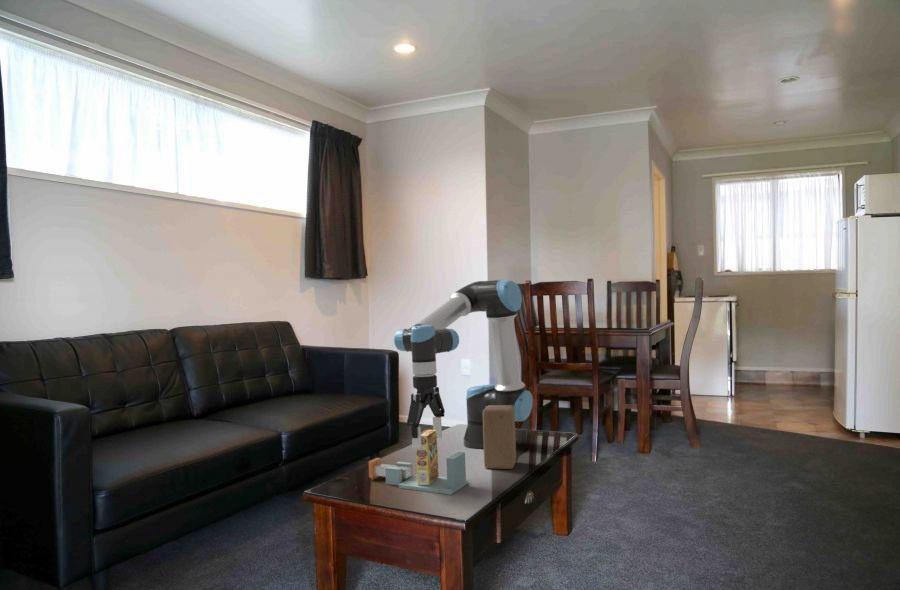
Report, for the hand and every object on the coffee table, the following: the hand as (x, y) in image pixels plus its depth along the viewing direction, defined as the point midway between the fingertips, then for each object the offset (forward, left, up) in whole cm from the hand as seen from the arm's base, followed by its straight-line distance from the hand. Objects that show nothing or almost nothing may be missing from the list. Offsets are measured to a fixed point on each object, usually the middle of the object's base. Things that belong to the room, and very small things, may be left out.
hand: (427, 442), depth 188 cm
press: (0, -1, -13) cm, 13 cm away
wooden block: (-28, +13, -13) cm, 33 cm away
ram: (0, -14, -12) cm, 18 cm away
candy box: (0, 0, -12) cm, 12 cm away
